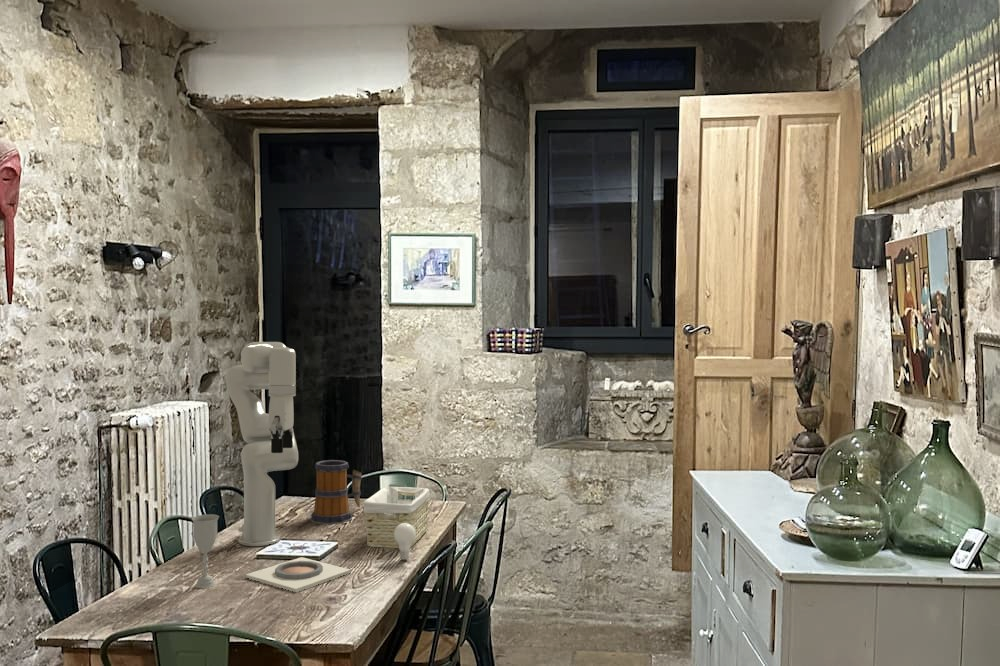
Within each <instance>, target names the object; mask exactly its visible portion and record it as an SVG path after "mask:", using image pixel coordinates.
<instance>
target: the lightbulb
mask: <svg viewBox="0 0 1000 666" xmlns="http://www.w3.org/2000/svg"><path fill="white" fill-rule="evenodd" d="M394 538H395V540H396V542H397V544H398V546H399V548H398V549H399V559H400V560H401V561H402V562H404V561H405V562H406V561H407V560H409V559H410V555H409V554H410V549H411V548H410V546H411V543H412V542H413V540H414V538H415V529H414V527H413V526H412V525H410V524H408V523H401V524H399V525H398V526H397V527H396V528H395V530H394Z"/></svg>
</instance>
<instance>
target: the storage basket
mask: <svg viewBox="0 0 1000 666" xmlns="http://www.w3.org/2000/svg"><path fill="white" fill-rule="evenodd" d="M430 493H431V492H430V489H429V488H428V487H425V488H424V487H423V488H422V487H410V486H409V487H408V486H407V487H406V486H389V485H388V486H385V487H383V488H382V489H380V490H378V491H377V492H375V493H374V494H373V495H371V496H370V497H368V498H367V499H365V500H364V501H363V515H364V521H365V522H364V523H365V524H364V526H365V534H366V545H367V546H368V547H370V548H385V549H399V546H398V544H397V542H396V540H395V538H394V530H395V528H396V527H397V526H398V525H399V524H401V523H408V524H410V525H412V526H413V527H414V529H415V538H414V540H413V542H412V543H411V546H410V549H411V548H413V546H414V545H415V544H416V543H417V542H418V541H419V540H420V539H421V538H422V536H424V534H425V533H426V532H427V530H429V529H428V515H429V504H430V503H429V502H430V495H431V494H430ZM399 496H407V497H408V496H409V497H412V496H414V499H413V500H412V501H409V500H408V501H407V500H406V501H405V500H399Z"/></svg>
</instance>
